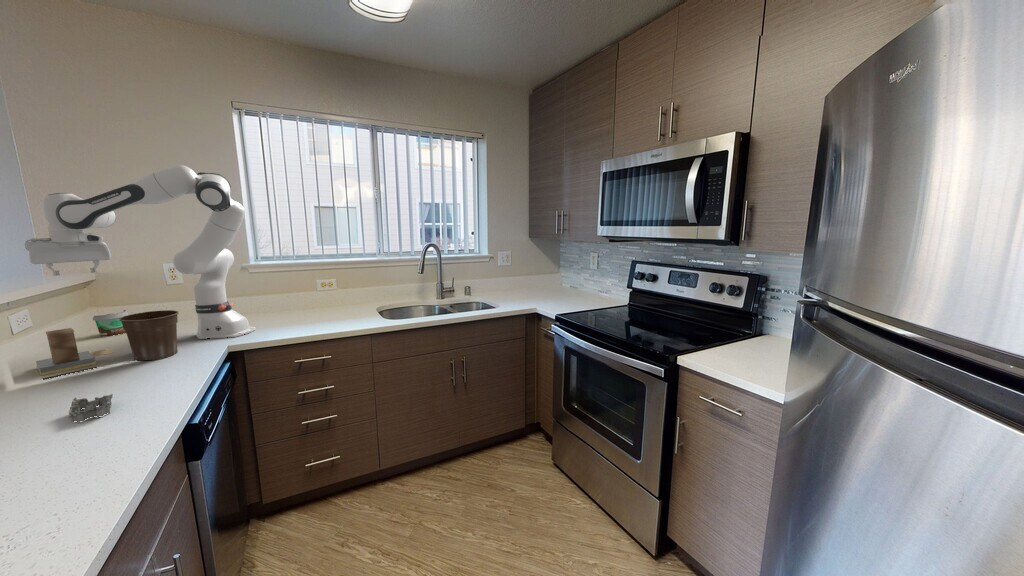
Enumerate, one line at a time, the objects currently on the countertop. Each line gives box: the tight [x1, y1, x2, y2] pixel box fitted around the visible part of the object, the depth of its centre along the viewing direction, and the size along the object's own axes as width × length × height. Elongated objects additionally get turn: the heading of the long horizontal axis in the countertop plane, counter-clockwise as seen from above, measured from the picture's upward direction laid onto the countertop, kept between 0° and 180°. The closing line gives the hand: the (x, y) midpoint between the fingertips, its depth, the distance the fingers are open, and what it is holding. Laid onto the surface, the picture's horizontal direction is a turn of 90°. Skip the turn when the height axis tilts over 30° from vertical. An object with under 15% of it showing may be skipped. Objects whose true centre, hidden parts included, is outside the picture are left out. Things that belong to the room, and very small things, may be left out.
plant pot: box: [119, 309, 180, 362], centre depth 143 cm, size 16×16×16 cm
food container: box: [92, 309, 130, 337], centre depth 174 cm, size 12×6×10 cm, turn 168°
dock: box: [35, 350, 97, 381], centre depth 130 cm, size 12×12×4 cm
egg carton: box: [68, 393, 113, 423], centre depth 100 cm, size 11×8×4 cm
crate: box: [45, 327, 79, 363], centre depth 129 cm, size 6×6×10 cm
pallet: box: [89, 348, 115, 357], centre depth 144 cm, size 8×8×2 cm
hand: (75, 274), depth 144 cm, fingers open, 8 cm apart
